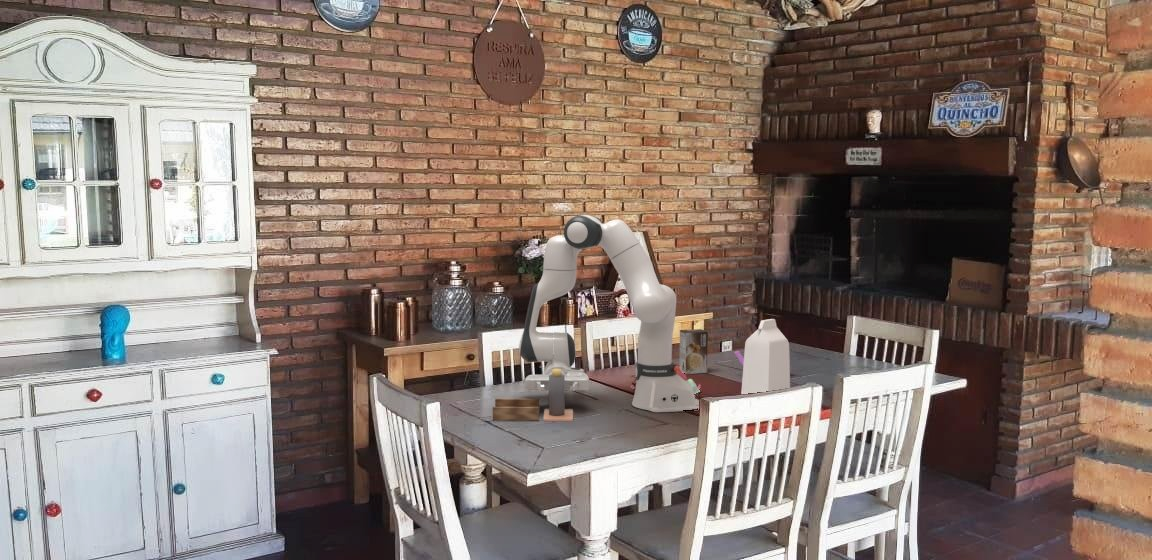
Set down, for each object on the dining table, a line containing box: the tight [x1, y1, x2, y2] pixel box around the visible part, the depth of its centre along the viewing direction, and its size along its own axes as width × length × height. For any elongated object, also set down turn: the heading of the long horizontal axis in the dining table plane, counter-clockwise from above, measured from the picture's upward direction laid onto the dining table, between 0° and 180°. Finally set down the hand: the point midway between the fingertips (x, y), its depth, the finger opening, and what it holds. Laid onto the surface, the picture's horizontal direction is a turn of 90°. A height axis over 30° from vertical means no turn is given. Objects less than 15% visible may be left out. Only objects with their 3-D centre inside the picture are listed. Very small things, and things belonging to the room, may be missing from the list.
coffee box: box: [679, 328, 709, 375], centre depth 342 cm, size 9×6×16 cm
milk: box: [740, 318, 791, 395], centre depth 307 cm, size 12×12×26 cm
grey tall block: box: [548, 369, 565, 416], centre depth 278 cm, size 5×5×14 cm
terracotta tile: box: [543, 408, 574, 422], centre depth 279 cm, size 9×12×1 cm
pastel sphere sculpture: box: [630, 371, 701, 394], centre depth 314 cm, size 25×24×9 cm
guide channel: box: [492, 398, 541, 422], centre depth 278 cm, size 14×11×4 cm
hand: (557, 388), depth 277 cm, fingers open, 8 cm apart
